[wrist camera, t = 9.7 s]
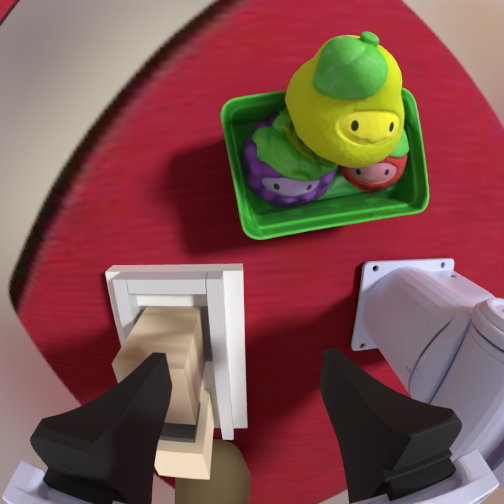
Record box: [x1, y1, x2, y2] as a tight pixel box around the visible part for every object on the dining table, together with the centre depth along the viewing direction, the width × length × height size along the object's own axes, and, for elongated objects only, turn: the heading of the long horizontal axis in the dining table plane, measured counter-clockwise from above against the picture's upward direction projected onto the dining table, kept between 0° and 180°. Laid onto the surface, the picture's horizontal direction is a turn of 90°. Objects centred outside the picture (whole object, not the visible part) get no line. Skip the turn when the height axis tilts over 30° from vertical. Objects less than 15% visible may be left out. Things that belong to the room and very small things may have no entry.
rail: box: [105, 264, 248, 480], centre depth 19 cm, size 10×16×8 cm, turn 1°
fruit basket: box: [221, 32, 429, 240], centre depth 13 cm, size 11×9×11 cm
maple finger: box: [112, 306, 206, 425], centre depth 17 cm, size 4×5×7 cm
